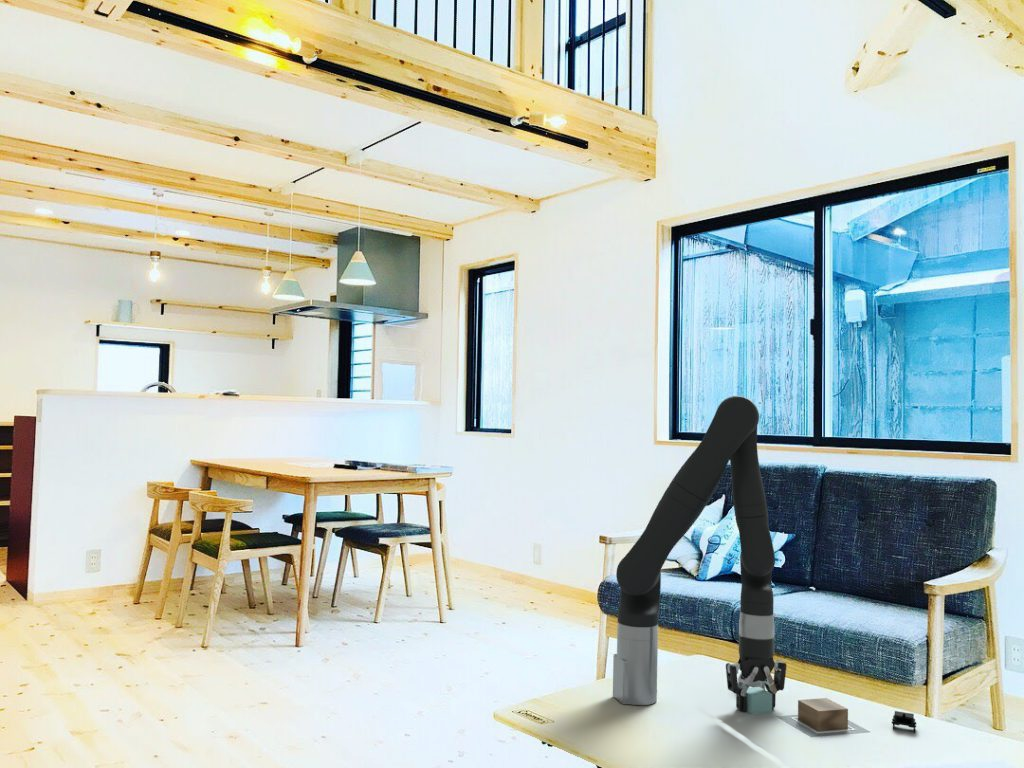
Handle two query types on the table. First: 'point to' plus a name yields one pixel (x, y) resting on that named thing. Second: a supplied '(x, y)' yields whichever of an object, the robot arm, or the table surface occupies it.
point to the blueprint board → (814, 733)
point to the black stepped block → (903, 719)
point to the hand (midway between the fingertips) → (755, 710)
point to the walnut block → (822, 714)
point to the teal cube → (758, 700)
